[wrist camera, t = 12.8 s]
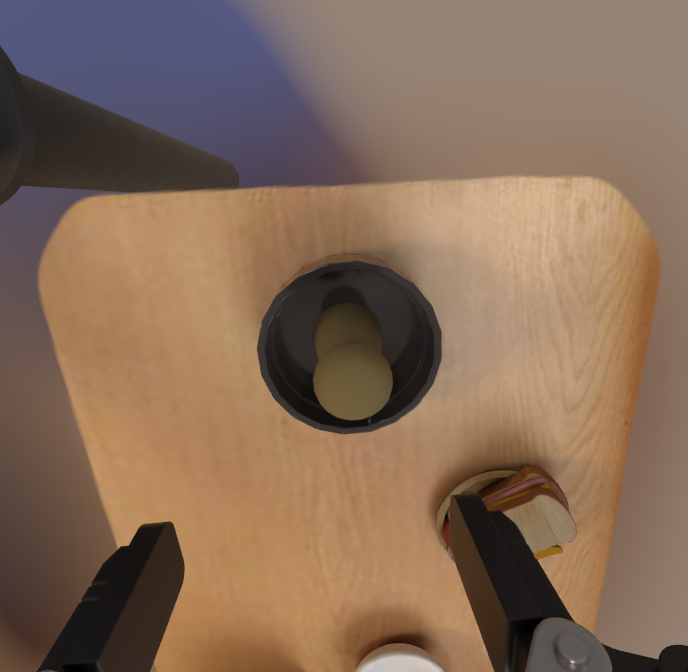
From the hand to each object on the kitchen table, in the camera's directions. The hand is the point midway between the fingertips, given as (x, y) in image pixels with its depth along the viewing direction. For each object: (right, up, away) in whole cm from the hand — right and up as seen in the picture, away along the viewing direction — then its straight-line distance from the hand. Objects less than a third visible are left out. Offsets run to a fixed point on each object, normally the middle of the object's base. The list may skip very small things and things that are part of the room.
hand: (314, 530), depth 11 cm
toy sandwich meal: (+17, -13, +31) cm, 37 cm away
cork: (+1, +6, +23) cm, 24 cm away
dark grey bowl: (+1, +6, +24) cm, 25 cm away
